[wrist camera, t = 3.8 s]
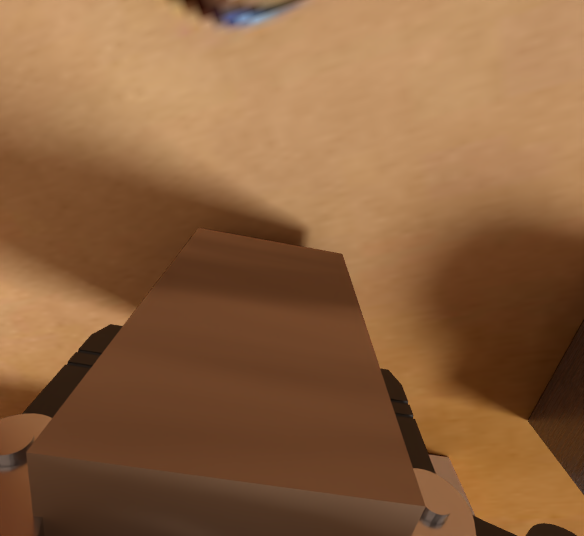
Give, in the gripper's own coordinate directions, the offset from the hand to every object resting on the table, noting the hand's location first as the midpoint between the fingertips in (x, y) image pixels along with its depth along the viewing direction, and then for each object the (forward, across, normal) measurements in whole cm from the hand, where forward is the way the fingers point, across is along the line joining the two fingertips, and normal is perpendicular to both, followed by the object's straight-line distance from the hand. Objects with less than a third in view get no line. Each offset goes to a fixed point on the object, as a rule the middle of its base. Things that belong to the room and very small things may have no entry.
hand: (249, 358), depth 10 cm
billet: (+3, 0, 0) cm, 3 cm away
